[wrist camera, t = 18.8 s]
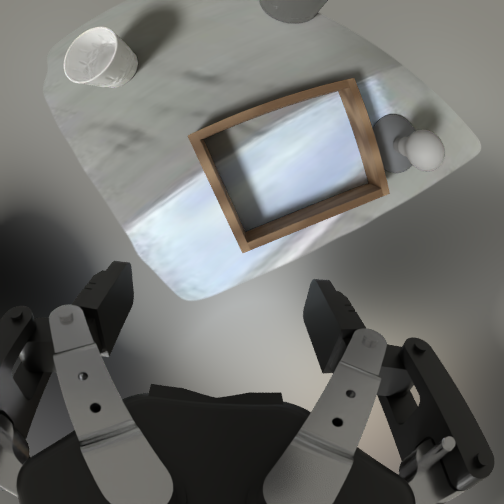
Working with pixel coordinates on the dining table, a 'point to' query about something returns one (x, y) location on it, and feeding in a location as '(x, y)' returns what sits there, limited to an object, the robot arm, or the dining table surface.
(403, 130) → the mat
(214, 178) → the shallow wooden tray
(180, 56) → the dining table surface
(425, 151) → the lightbulb
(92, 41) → the white cup
